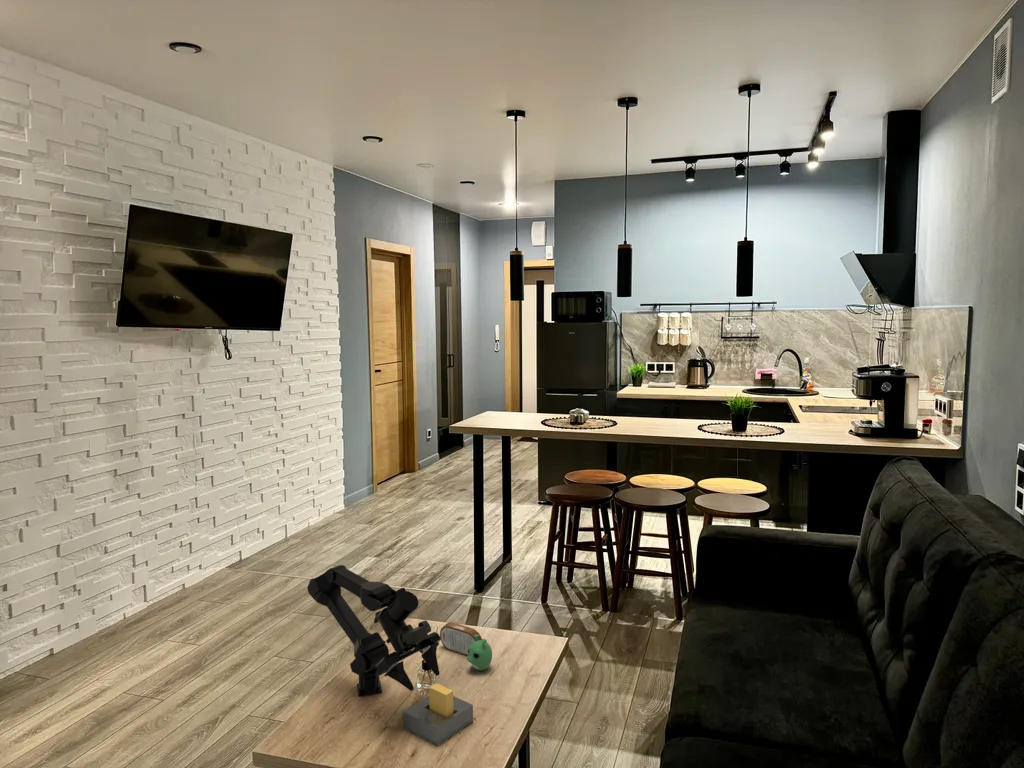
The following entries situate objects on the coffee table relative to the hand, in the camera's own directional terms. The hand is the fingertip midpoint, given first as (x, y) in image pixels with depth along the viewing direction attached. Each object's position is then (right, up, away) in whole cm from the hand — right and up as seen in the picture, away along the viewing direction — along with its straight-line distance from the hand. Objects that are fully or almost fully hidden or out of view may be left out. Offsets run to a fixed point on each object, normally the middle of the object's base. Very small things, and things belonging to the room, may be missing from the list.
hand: (425, 682), depth 180 cm
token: (+4, -10, -2) cm, 11 cm away
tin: (+6, -6, +37) cm, 38 cm away
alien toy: (+13, -7, +26) cm, 30 cm away
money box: (+4, -10, -2) cm, 11 cm away
